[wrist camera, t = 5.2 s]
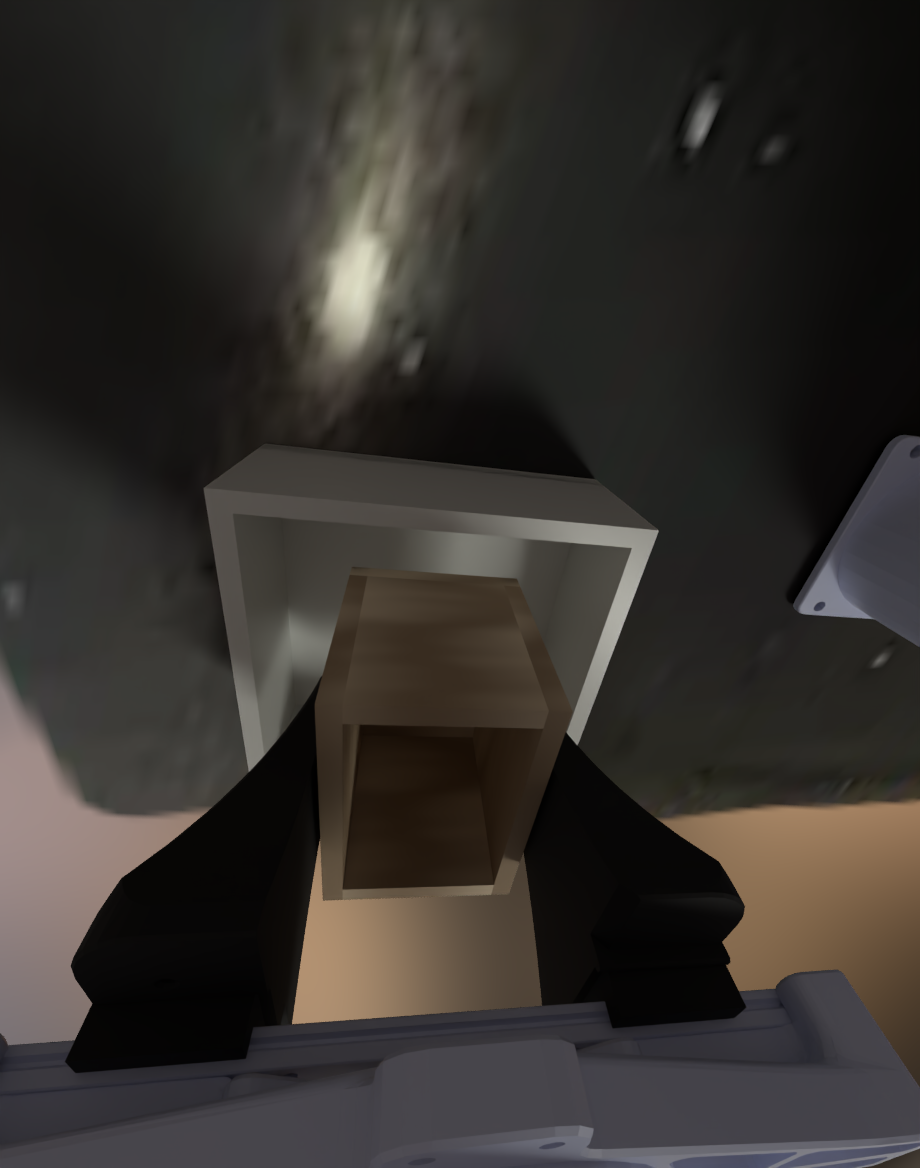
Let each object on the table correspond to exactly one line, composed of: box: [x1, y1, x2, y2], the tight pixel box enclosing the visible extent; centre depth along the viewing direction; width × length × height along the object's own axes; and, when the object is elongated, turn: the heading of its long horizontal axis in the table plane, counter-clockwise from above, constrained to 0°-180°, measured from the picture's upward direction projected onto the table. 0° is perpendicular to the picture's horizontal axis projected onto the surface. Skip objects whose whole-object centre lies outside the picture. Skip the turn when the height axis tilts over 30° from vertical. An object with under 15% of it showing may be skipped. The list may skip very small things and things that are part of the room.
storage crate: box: [204, 443, 659, 771], centre depth 16 cm, size 12×12×5 cm
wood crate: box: [315, 567, 573, 900], centre depth 12 cm, size 5×7×6 cm
